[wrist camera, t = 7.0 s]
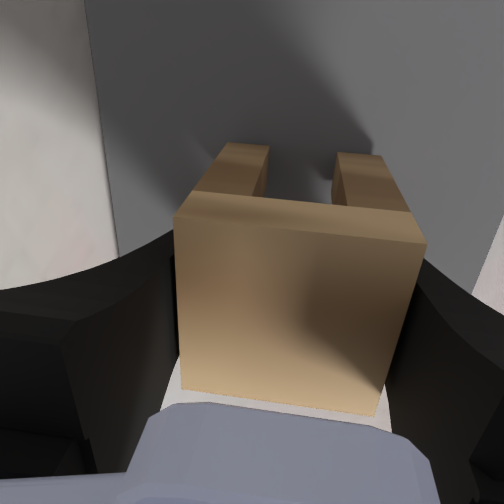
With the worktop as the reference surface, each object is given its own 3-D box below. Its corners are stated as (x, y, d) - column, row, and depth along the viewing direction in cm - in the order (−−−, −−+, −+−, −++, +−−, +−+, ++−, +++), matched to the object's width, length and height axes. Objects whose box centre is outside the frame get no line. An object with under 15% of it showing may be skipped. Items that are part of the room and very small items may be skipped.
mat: (580, 4, 11) (589, 4, 10) (434, 371, 18) (437, 378, 18) (87, -21, 12) (80, -23, 12) (134, 331, 19) (130, 337, 19)
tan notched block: (353, 284, 15) (374, 416, 10) (224, 269, 16) (181, 389, 11) (381, 155, 13) (427, 244, 8) (227, 142, 13) (172, 216, 8)
